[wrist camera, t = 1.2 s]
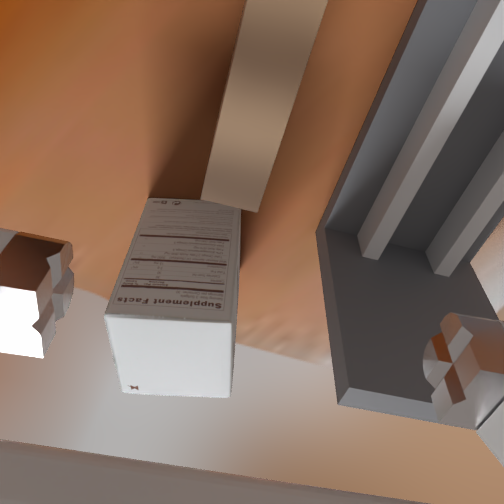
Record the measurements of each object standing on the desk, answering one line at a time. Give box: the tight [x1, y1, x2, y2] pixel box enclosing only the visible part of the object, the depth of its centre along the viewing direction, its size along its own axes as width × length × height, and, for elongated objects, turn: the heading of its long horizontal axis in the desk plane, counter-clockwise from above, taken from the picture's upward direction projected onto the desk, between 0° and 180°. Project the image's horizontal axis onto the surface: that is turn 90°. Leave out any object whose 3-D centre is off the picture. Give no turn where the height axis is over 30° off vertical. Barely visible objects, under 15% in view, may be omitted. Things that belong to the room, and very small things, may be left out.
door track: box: [316, 0, 504, 428], centre depth 25 cm, size 22×12×16 cm, turn 165°
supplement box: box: [104, 198, 241, 398], centre depth 33 cm, size 7×7×13 cm
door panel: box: [200, 0, 328, 213], centre depth 24 cm, size 12×3×10 cm, turn 165°
